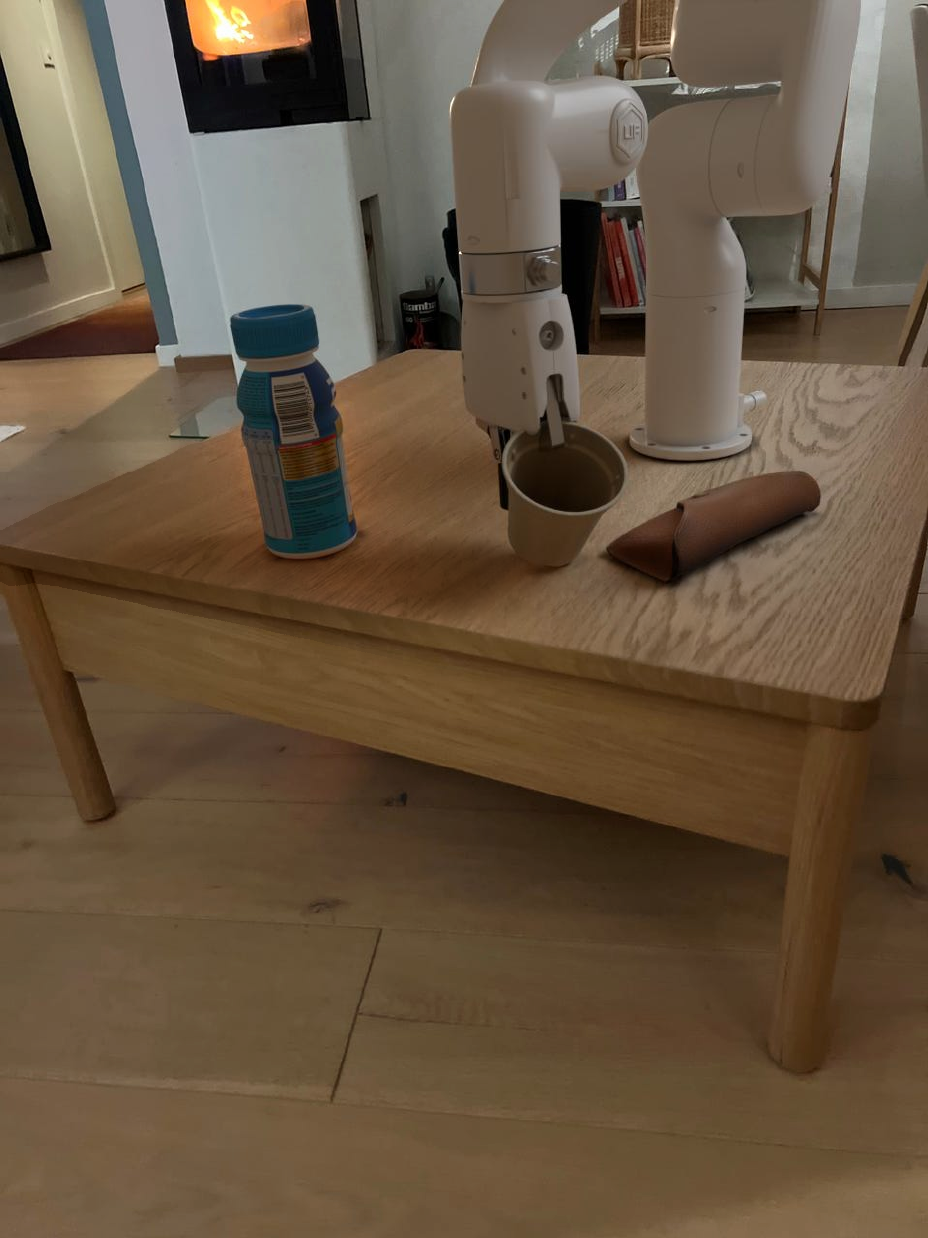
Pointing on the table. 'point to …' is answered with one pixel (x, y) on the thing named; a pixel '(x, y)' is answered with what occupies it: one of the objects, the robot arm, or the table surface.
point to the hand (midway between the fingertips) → (521, 506)
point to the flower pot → (560, 492)
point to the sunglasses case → (714, 523)
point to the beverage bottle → (292, 433)
